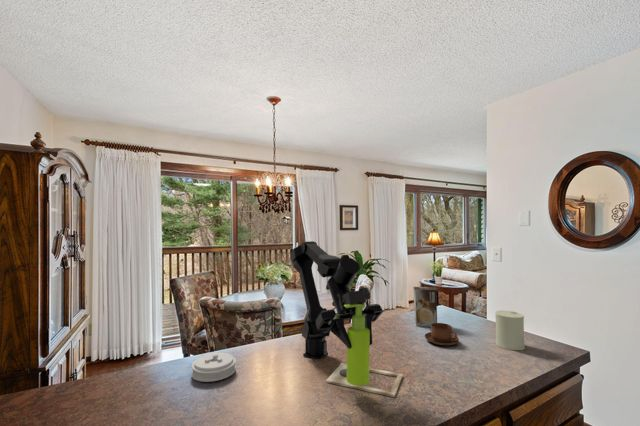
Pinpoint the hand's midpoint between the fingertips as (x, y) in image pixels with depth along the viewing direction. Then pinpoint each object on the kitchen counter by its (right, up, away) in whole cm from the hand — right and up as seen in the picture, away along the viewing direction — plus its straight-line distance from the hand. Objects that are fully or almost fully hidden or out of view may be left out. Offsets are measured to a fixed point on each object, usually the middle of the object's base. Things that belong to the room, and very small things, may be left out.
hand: (360, 346), depth 83 cm
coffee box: (+36, -15, +59) cm, 71 cm away
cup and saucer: (+36, -15, +38) cm, 54 cm away
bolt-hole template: (+3, -13, +9) cm, 17 cm away
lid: (-42, -14, +13) cm, 47 cm away
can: (+59, -14, +34) cm, 70 cm away
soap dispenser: (-1, -10, +1) cm, 10 cm away
